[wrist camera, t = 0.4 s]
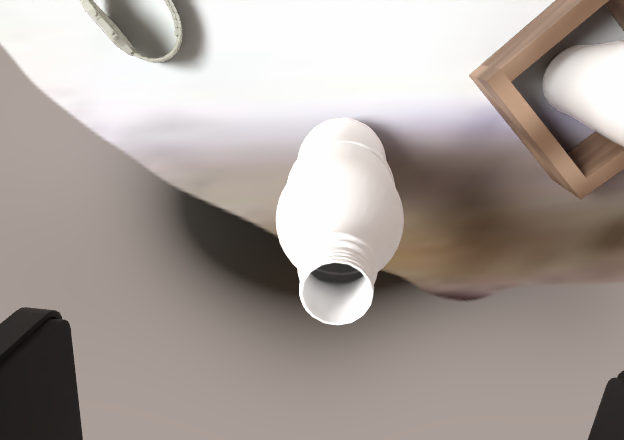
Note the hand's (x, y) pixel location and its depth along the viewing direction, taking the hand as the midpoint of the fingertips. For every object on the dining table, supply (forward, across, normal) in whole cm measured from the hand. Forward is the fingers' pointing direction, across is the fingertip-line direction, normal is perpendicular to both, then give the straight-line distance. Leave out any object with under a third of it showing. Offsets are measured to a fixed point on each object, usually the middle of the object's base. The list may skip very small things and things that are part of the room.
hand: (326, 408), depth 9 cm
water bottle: (+36, 0, +3) cm, 36 cm away
